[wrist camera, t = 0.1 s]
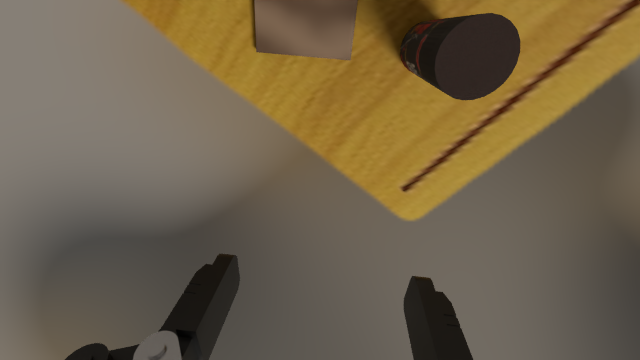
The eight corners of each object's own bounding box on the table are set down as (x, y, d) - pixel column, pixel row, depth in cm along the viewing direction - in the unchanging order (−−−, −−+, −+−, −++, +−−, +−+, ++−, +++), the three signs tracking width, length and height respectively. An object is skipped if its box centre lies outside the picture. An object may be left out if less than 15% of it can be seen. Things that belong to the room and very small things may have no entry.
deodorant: (461, 40, 32) (538, 47, 19) (425, 83, 35) (472, 114, 22) (424, 9, 31) (480, -7, 18) (390, 55, 34) (417, 71, 21)
